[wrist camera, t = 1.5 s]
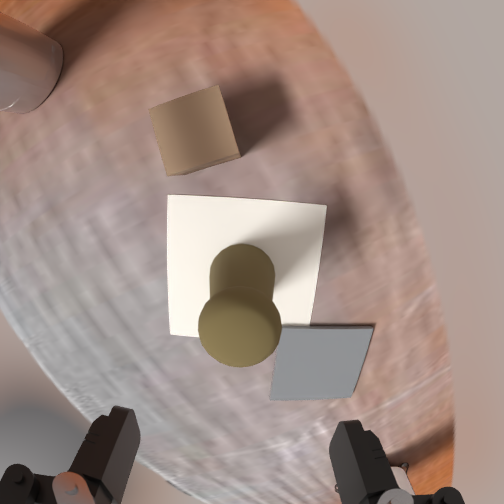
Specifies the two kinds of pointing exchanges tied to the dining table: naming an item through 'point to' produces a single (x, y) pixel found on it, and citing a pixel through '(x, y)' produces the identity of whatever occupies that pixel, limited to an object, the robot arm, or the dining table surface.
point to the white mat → (241, 232)
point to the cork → (240, 308)
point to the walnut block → (194, 132)
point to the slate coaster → (318, 361)
